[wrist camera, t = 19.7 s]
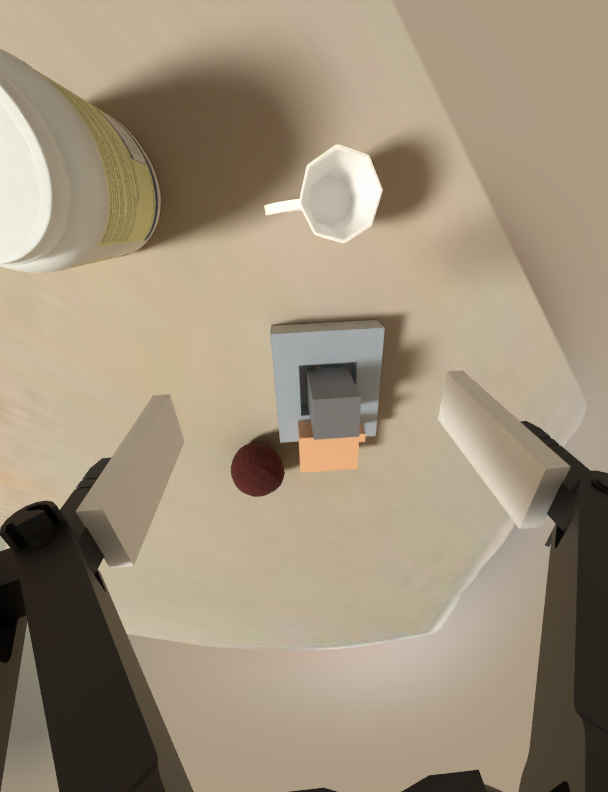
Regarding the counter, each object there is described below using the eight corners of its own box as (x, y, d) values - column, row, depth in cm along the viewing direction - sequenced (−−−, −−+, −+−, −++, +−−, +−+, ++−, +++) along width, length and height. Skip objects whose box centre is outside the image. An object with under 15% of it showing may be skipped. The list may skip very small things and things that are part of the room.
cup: (362, 234, 35) (384, 237, 28) (272, 248, 35) (270, 255, 28) (359, 155, 32) (382, 136, 25) (259, 171, 32) (253, 157, 25)
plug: (305, 364, 41) (312, 399, 33) (345, 362, 41) (361, 396, 33) (307, 399, 43) (313, 439, 35) (344, 396, 43) (359, 436, 35)
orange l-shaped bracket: (297, 421, 42) (299, 438, 38) (358, 416, 42) (365, 433, 39) (300, 468, 46) (302, 488, 42) (356, 464, 46) (362, 483, 43)
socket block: (271, 325, 39) (270, 334, 36) (376, 319, 40) (384, 327, 37) (280, 428, 46) (280, 442, 43) (369, 421, 47) (375, 435, 44)
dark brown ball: (256, 424, 46) (253, 456, 40) (294, 454, 49) (296, 488, 43) (222, 454, 48) (214, 488, 42) (261, 481, 51) (258, 517, 45)
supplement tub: (87, 72, 28) (-132, -101, 13) (191, 205, 33) (119, 191, 18) (2, 171, 31) (-259, 123, 16) (110, 280, 36) (-10, 321, 21)
